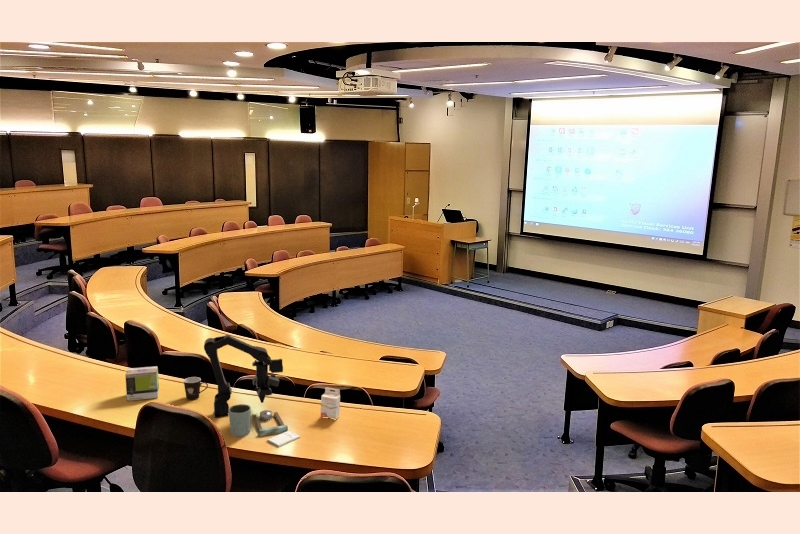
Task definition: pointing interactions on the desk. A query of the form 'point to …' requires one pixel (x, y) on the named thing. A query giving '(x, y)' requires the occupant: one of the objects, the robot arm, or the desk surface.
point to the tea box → (142, 383)
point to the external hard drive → (283, 438)
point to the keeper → (265, 415)
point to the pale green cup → (239, 420)
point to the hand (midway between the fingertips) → (262, 402)
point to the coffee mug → (193, 387)
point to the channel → (271, 430)
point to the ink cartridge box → (330, 403)
